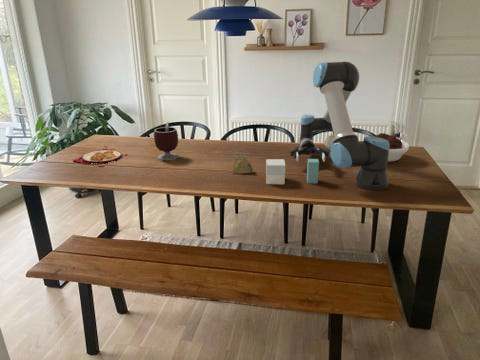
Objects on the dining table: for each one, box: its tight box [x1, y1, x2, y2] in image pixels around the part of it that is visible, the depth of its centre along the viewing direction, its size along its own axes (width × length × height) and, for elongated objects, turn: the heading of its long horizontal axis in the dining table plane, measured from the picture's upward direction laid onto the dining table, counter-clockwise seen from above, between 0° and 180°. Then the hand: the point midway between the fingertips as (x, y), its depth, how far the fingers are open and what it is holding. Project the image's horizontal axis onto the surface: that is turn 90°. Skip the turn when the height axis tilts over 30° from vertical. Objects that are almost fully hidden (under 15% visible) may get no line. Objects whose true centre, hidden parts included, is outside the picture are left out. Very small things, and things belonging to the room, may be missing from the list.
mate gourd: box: [153, 121, 179, 161], centre depth 226 cm, size 16×14×20 cm
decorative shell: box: [323, 133, 335, 151], centre depth 236 cm, size 18×18×10 cm
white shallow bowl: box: [372, 132, 410, 162], centre depth 218 cm, size 25×25×15 cm
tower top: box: [265, 158, 286, 176], centre depth 189 cm, size 9×9×5 cm
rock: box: [231, 153, 254, 175], centre depth 202 cm, size 11×9×10 cm
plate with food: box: [72, 145, 128, 168], centre depth 229 cm, size 24×26×3 cm
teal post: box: [306, 158, 320, 184], centre depth 188 cm, size 5×5×11 cm
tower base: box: [265, 173, 286, 185], centre depth 191 cm, size 9×9×5 cm
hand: (310, 158), depth 196 cm, fingers open, 13 cm apart
